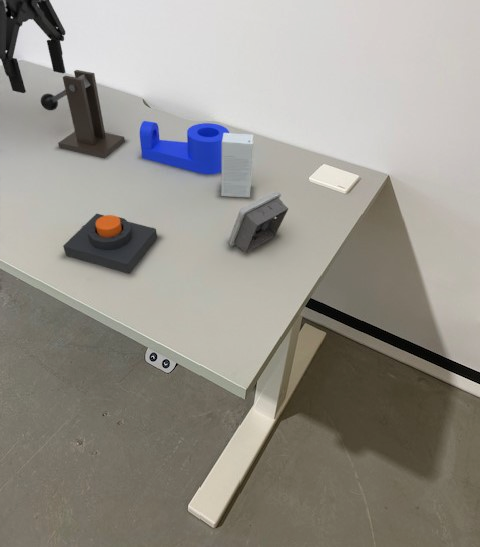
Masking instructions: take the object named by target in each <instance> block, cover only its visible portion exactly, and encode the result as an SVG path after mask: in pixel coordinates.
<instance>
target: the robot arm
mask: <svg viewBox="0 0 480 547" xmlns="http://www.w3.org/2000/svg"><path fill="white" fill-rule="evenodd" d="M29 20H32V21H34V22H35V24H36V25H37V26H38V28H40V29H41V31H42V33H44V34H45V35H46V37H48V39H46V44H47V50H48V53H49V58H50V62H51V66H52V70H53V72H55V73H60V74H66V68H65V63H64V59H63V58H64V57H63V49H62V43H61V42H64V41H65V35H66V30H65V27H64V26H63V23H62V22H61V20H60V18H59V16H58V14H57V12H56V11H55V8H54V6H53V5H52V3H51V1H50V0H0V60H1V62H2V67H3V70H4V73H5V75H6V76H7V77H8V80H9V83H10V86H11V91H12V92H17V93H22V94H25V93H27V90H26V86H25V83H24V79H23V76H22V72H21V68H20V66H19V62H18V58H17V57H14V54H15V50H16V46H17V41H18V35H19V31H20V27H23V23H25V22H28V21H29Z"/></svg>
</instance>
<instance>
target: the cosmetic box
mask: <svg viewBox="0 0 480 547" xmlns="http://www.w3.org/2000/svg"><path fill="white" fill-rule="evenodd" d="M253 154H254V134H253V133H235V132H229V133H223V138H222V172H221V179H220V180H221V181H220V182H221V183H220V185H221V186H220V192H221V193H220V195H221V197H230V198H231V197H232V198H248V199H250V197H251V184H252V171H253V157H254V156H253Z"/></svg>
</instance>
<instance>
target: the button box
mask: <svg viewBox="0 0 480 547" xmlns="http://www.w3.org/2000/svg"><path fill="white" fill-rule="evenodd" d="M102 216H106V215H105V214H100V213H95V214H94V215H93V216H92V217H91V218H90V219H89V220H88V221H87V222H86V223H85V224H84V225H83V226H82V227H80V229H79V230H78V231H76V233H75V234H74V235H72V236H71V238H70V239H69V240H68V241H66V242H65V243H64V244H63V245H62V247H63V250H64V252H65V253H64V254H65V256H66V257H70V258H72V259H77V260H79V261H83V262H87V263H89V264H94V265H97V266H101V267H105V268H109V269H112V270H115V271H119V272H123V273H126V274H131V272H133V270H134V268H135V267H136V266H137V265H138V264H139V262H140V261H141V260H142V258H143V257H144V256H145V255H146V253H147V252H148V251H149V250H150V248H151V247H152V246H153V245H154V243H155V242H156V240H158V235H157V228H155V227H152V226H151V227H150V226H148V225H147V226H146V225H143V224H139V223H136V222H131V221H129V220H127V219H126V218H123V217H120V216H117V217H118V218H119V219H120V221H121V227H122V231H121V233H120V234H118V235H116V236H113V237H102V236H100V235H99V234H98V233H97V228H96V221H97V219H99V218H100V217H102Z"/></svg>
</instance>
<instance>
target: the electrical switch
mask: <svg viewBox="0 0 480 547" xmlns="http://www.w3.org/2000/svg"><path fill="white" fill-rule="evenodd" d="M281 197H282V194H281V193H280V192H279V191H277V190H276V191H274V192H272V193H270V194H268V195H266V196H263V197H262V198H259V199H258V200H256V201H254V202H252V203H250V204H248V205H246V206H244V207H242V208H241V209H240V210H239V212H238V214H237V216H236V219H235V223H234V225H233V227H232V230H231V233H230V236H229V239H228V243H229V245H230V246H231V247H233V246H235V245H236V246H237V248H239V249H240V250H242V252H243V253H244V254H247V253H249V252H251V251H252V250H254V249H255V248H256V249H257V247H259V246H261V245H263V244H264V243H266V242H268V241H270V240H271V239H272V238H274V237H275V236H276V235H277V233H278V230H279V228H280V227H281V225H282V223H283V221H284V219H285V217H286V214H287V213H288V211H289V207H288V206H286V204H285V203H284V202H283V201H282V200H281V199H280V198H281ZM253 237H254V238H255V239H254V238H253Z"/></svg>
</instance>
